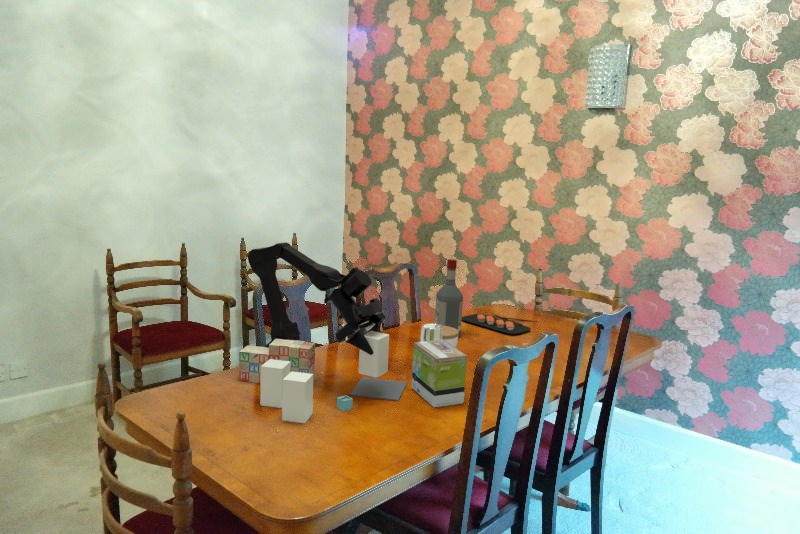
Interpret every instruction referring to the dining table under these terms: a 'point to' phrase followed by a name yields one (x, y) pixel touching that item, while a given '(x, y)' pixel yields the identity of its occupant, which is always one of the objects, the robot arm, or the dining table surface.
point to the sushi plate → (498, 323)
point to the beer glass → (431, 332)
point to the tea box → (439, 373)
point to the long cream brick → (273, 382)
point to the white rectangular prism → (375, 355)
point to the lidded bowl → (450, 335)
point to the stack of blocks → (276, 358)
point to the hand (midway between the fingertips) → (378, 351)
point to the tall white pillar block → (297, 397)
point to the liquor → (449, 300)
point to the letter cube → (344, 403)
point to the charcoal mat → (379, 388)
